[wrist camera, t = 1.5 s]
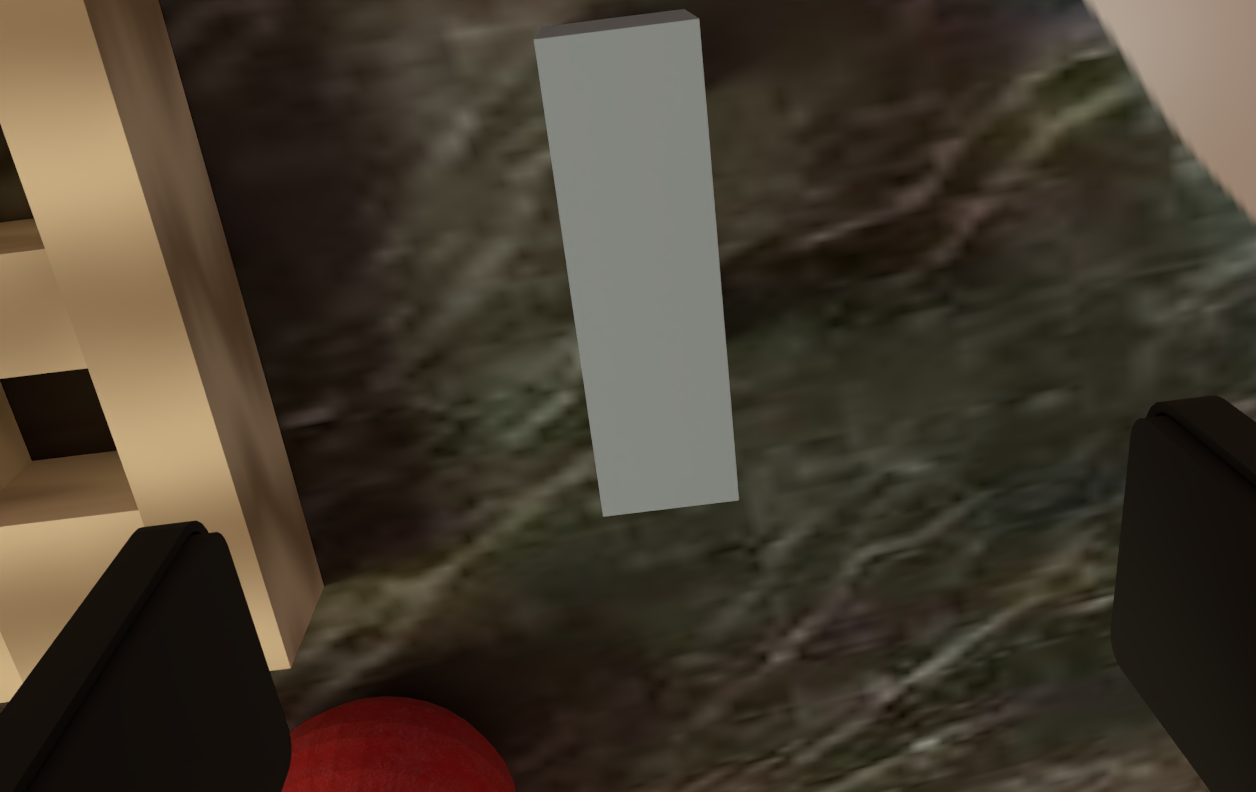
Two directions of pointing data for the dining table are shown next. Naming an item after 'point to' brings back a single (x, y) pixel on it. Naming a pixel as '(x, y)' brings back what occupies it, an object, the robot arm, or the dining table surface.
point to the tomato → (393, 751)
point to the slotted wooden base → (128, 334)
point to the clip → (642, 255)
